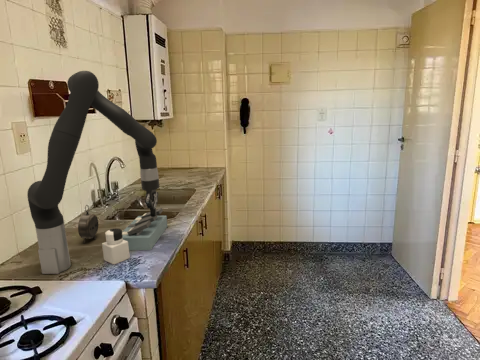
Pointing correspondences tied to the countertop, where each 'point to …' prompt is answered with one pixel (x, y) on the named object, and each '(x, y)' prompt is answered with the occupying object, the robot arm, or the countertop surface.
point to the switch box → (145, 234)
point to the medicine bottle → (115, 247)
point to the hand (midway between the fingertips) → (153, 216)
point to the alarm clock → (88, 225)
